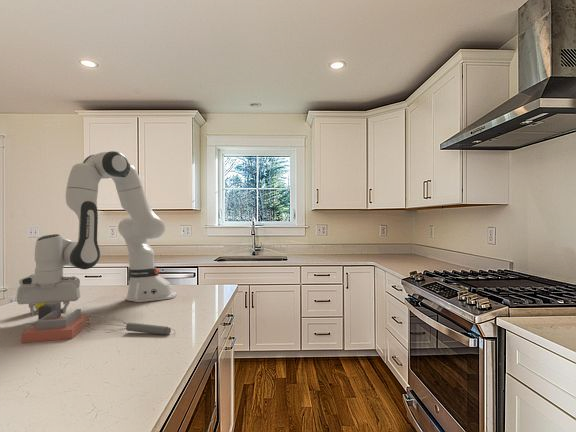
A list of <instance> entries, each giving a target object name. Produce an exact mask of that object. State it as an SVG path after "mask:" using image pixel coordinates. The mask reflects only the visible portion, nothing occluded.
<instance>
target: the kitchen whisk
mask: <svg viewBox="0 0 576 432" xmlns="http://www.w3.org/2000/svg"><path fill="white" fill-rule="evenodd" d="M99 314H101V315H98V314H97V315H96V314H94V312H92V313H89V314H88V315H87V314H86V315H87V316H89V318H88V319H89V320H90V319H91V318H92V317H90V316H91V315H93V317H94V318H97V317H98V318H99V317H101V318H105V319H110V320H113V321H116V322H119V323H122V324H124V325H125V327H123V325H121V324H112V323H105V322H96V321H95V322H94V321H89V324H90V323H92V324H100V325H109V326H118V327H120V328H119V329H118V332H121V331H124V330H126V331H128V332H133V333H135V332H136V333H145V334H153V335H161V336H165V335H167V336H168V335H170V334H171V330H172V328H171V327H168V326H165V325H157V324H146V323H139V322H131V321H129V322H126V321H124V320H122V319H120V318H118V317H116V316H113V315H109V314H106V313H103V312H99ZM102 315H106V316H102ZM84 316H85V315H84ZM85 317H86V316H85ZM85 317H84V318H85ZM85 319H86V318H85ZM86 320H87V319H86ZM83 322H88V321H85V320H84V321H83ZM85 324H86V323H85ZM81 325H82V324H81ZM83 326H84V324H83ZM88 329H89V331H88ZM83 330H86V332H88V333H90V330H92V331H96V329H95V328H91V327H90V326H88V327H87V328H86V327H83ZM104 331H107V332H105V334H106V333H107V334H108V333H110V332H113V333H114V332H117V330H116V329H114V328H109V329H104ZM173 331H174V333H173V335H175V334H176V331H175V329H173Z"/></svg>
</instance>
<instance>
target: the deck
mask: <svg viewBox="0 0 576 432" xmlns="http://www.w3.org/2000/svg"><path fill="white" fill-rule="evenodd" d="M85 316H86V317H85ZM84 317H85V318H86V319H87V320H86V319H85V318H84ZM88 318H89V319H88ZM84 320H85V321H88V322H83V321H84ZM85 323H86V324H85ZM81 324H82V325H81ZM83 324H84V326H83ZM89 324H90V315H89V316H87V314H85V315H82V310H81V308H77V309H75V310H74V311H72V312H71V313H70V314H69V315H67V316H61V317H58V318H57V311H52V312H51V313H49V314H47V315H46V316H44V317H43V318H41V319H39V320H36V321H35V322H34V325H32V326H30V327H29V328H28V329H26V330H24V331H23V332H21V344H24V343H27V344H28V343H36V342H49V341H58V340H59V341H60V340H61V339H62V340H70V339H71V340H72V339H74V338H75V337H76V336H77V335H78V334H79V333H80V332H81V331H82V330H84V328H86V327H88V325H89ZM83 327H84V328H83Z"/></svg>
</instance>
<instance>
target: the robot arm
mask: <svg viewBox="0 0 576 432" xmlns="http://www.w3.org/2000/svg"><path fill="white" fill-rule="evenodd" d="M102 179H112V181H113V182H114V184H115V189H116V192H117V196H118V199H119V202H120V206H121V207H122V209H123V210H125V212H127V213H128V215H130V216H128V217H125V218H123V219H121V220H120V222H119V223H118V227H117V228H118V229H117V230H118V233H119V234H120V236H122V238H123V239H124V241H125V244H126V248H127V251H128V263H129V264H128V266H129V267H128V270H127V280H128V288H127V293H126V297H125V298H126V299H125V300H126V301H129V302H130V301H131V302H135V303H144V302H152V301H153V302H154V301H164V300H171V299H173V298H175V297H177V291H175V290H172V284H171V282H170V281H168V279H166V278H164V277H163V276H162V275H160V268H159V267H158V268H157V267H155V251H154V249H153V248H152V247H151V245H150V244H149V241H148V240H154V239H158V238H161V237H162V236H163V235H164V233H165V229H166V225H165V222H164V220H163V219H162V218H160V217H159V216H158V215H157V214H156V213H155V212H154V210H153V209H152V207H151V206H150V204H149V202H148V199H147V196H146V193H145V191H144V186H143V184H142V181H141V178H140V175H139V173H138V171H137V169H136V168H135V166H134V165H131V164H130V162H129V161H128V158H127V156H125V155H124V154H123V153H121V152H119V151H111V150H110V151H102V152H99V153H95V154H91V155H89V156H87V157H86V158H84V160H83V161H82V162H80V163H76V164H74V165H73V166H72V167H71V169H70V172H69V175H68V179H67V184H66V190H65V203H66V206H67V207H68V208H69V209H70V210H72V211H73V213H74V214H76V216H77V218H78V239H77V241H74V240H71V239H68V238H66V237H63V236H62V235H61V234H59V233H57V234H56V233H55V234H47V235H43V236H40V237H39V238H37V240H36V241H35V245H34V246H35V247H34V262H35V267H34V273H33V274H30V275H27V276H25V277H23V278H20V279H19V280H18V284H19V287H17V291H16V303H17V304H18V305H28V308H29V310H30V309H31V311H32V313H31V315H32V317H33V316H38V310H36V308H35V305H36V303H51V302H61V303H62V304H63V305H64V306H63V307H61V309H60V311H61V312H60V314H61V315H62V314H63V315H64V314H67V308H68V307H69V305H70V302H76V301H78V300H79V299H80V298H81V291H80V285H81V281H80V279H79V278H78V277H76V276H64V266H69V267H74V268H77V269H80V270H88V269H91V268H93V267H94V266H95V267H96V265H97V264H98V262H99V261H100V258H101V251H100V248H99V244H98V243H99V242H98V225H99V224H98V219H99V217H98V206H97V205H98V194H99V193H98V192H99V184H100V182H101V180H102Z"/></svg>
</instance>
